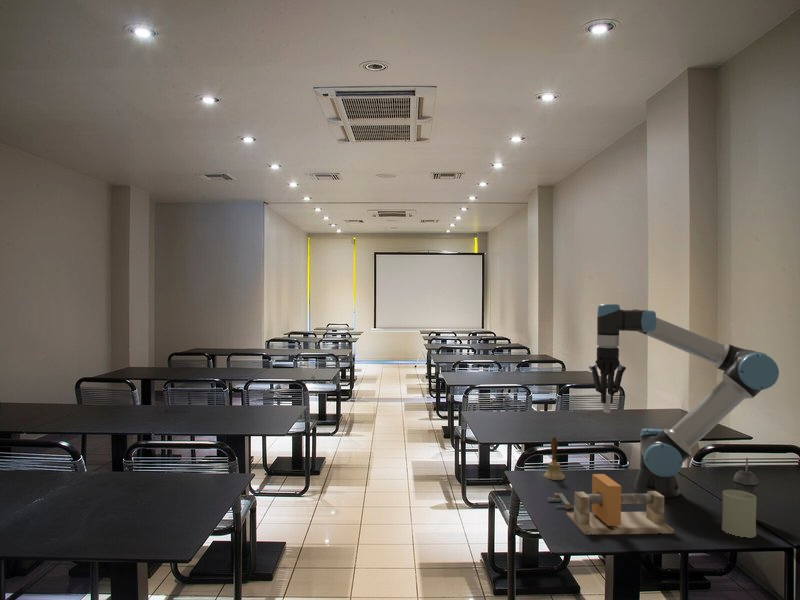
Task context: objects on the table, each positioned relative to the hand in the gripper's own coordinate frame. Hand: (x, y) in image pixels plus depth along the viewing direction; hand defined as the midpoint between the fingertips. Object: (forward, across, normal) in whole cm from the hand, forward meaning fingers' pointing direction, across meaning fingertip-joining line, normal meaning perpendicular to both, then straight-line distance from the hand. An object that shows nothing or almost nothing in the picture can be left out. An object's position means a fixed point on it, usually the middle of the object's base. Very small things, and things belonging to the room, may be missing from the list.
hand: (606, 412), depth 205 cm
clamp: (+31, +18, +8) cm, 37 cm away
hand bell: (+31, +11, -23) cm, 40 cm away
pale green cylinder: (+31, -28, +32) cm, 52 cm away
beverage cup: (+31, -38, +21) cm, 53 cm away
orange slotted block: (+28, +11, +25) cm, 39 cm away
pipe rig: (+30, +7, +25) cm, 40 cm away
